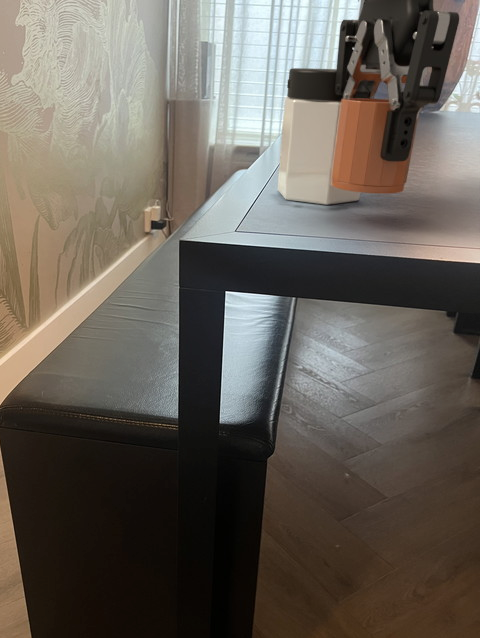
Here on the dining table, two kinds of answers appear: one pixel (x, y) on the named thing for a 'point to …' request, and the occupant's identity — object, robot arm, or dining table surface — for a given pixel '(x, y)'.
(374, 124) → the pot
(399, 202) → the dining table surface
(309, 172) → the jar
